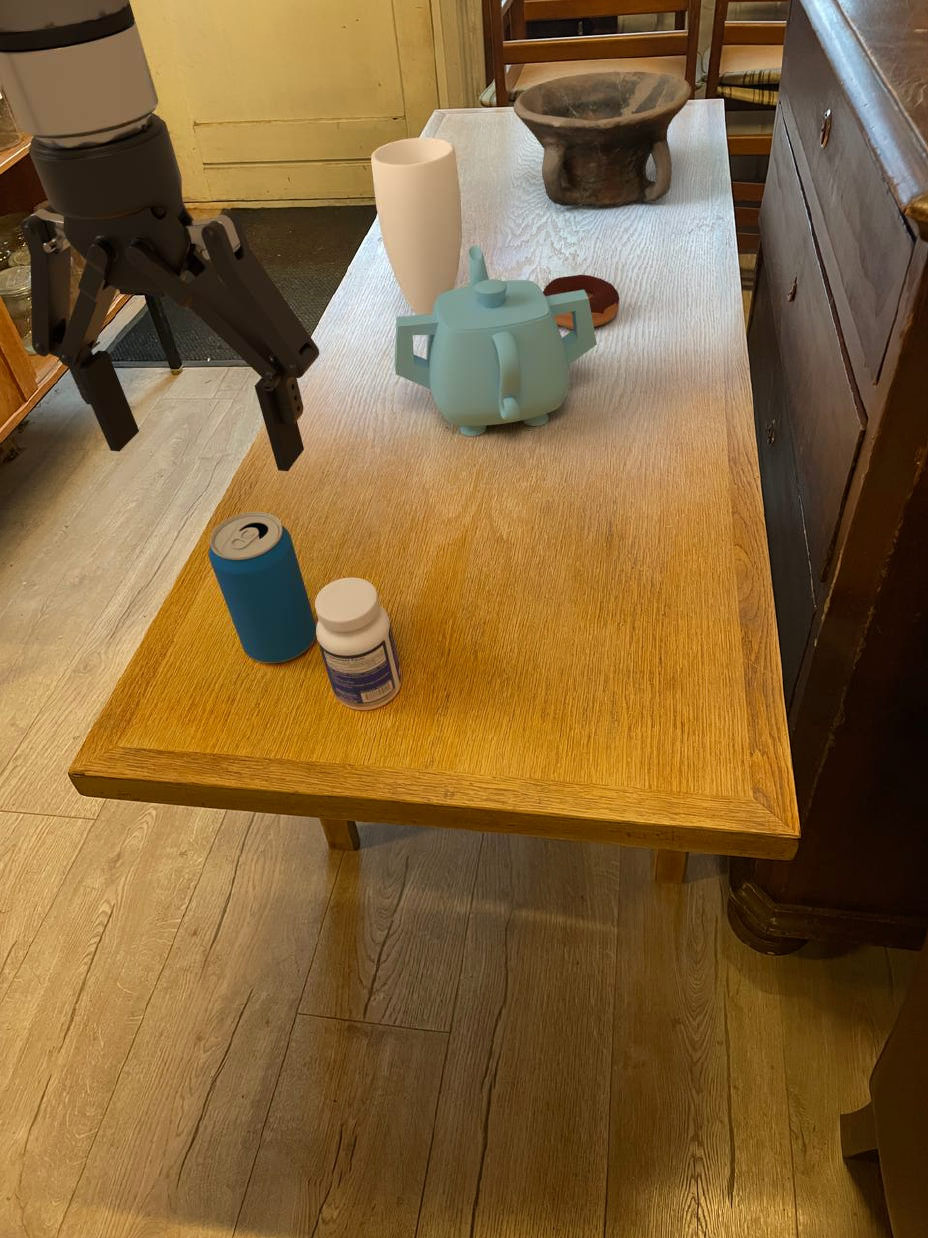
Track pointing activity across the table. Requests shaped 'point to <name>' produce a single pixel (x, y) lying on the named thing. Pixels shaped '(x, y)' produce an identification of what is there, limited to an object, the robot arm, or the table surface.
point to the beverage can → (262, 586)
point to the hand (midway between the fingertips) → (206, 450)
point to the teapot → (495, 350)
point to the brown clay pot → (604, 135)
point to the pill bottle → (357, 644)
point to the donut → (598, 293)
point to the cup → (419, 216)
